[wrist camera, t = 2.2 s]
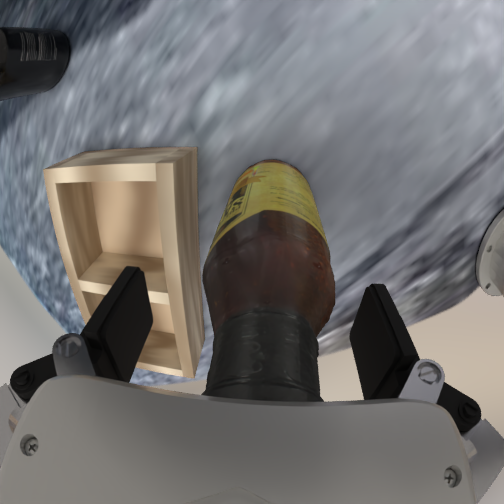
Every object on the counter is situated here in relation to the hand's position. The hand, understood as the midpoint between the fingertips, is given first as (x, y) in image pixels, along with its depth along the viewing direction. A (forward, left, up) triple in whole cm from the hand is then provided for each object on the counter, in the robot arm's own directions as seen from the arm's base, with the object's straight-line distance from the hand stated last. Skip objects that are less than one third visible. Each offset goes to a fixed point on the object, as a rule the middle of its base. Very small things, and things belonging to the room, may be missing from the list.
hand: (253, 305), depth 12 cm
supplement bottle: (+22, -14, -14) cm, 30 cm away
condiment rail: (+11, +7, -14) cm, 19 cm away
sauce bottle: (-1, 0, -14) cm, 14 cm away
